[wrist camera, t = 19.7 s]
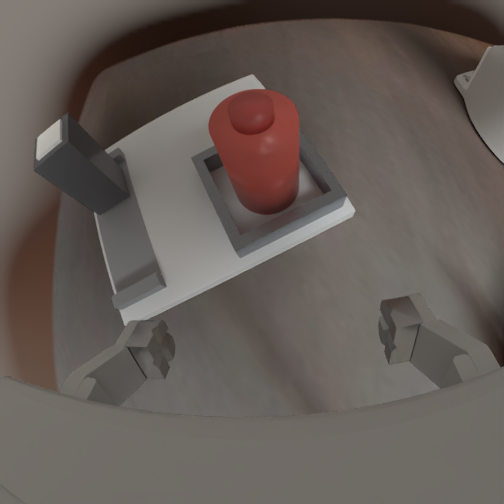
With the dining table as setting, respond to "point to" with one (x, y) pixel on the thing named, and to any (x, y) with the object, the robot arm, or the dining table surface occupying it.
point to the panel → (184, 214)
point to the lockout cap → (259, 148)
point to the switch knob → (79, 166)
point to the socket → (281, 224)
